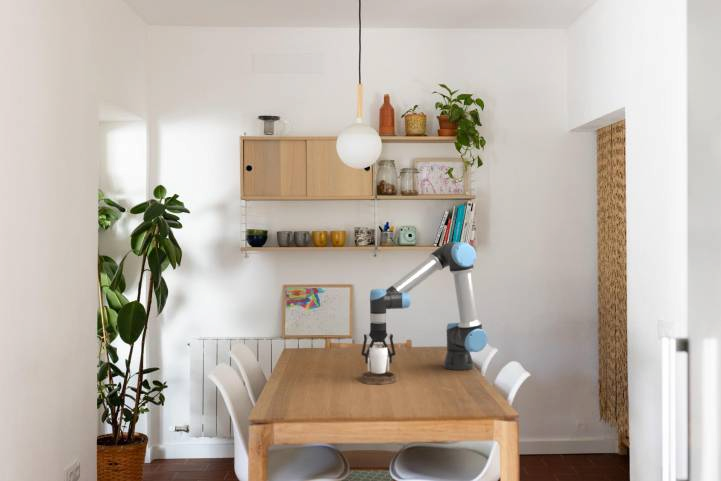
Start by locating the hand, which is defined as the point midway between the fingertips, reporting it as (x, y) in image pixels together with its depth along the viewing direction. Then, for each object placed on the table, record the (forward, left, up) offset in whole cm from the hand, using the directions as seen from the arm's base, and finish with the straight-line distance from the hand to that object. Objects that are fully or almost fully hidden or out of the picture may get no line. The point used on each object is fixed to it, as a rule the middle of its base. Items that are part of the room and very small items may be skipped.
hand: (378, 370), depth 313 cm
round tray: (0, 0, -5) cm, 5 cm away
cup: (0, 0, -1) cm, 1 cm away
